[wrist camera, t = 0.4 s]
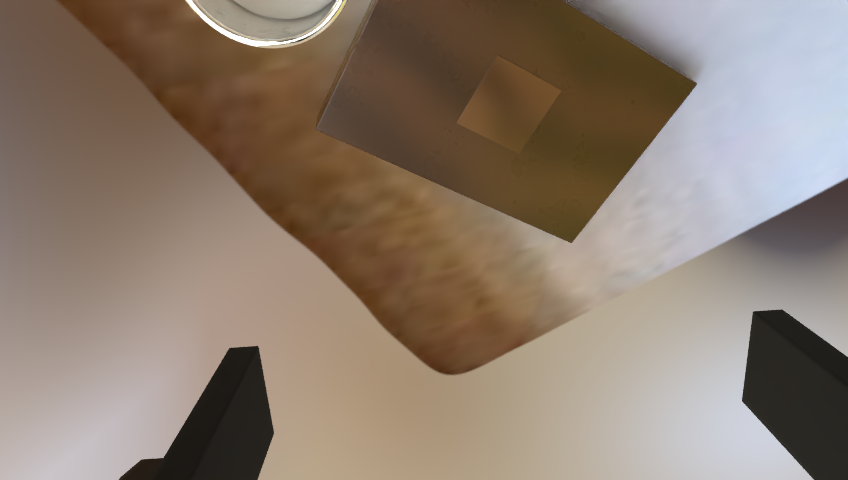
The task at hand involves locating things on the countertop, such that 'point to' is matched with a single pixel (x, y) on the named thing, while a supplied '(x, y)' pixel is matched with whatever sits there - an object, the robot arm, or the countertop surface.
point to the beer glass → (268, 19)
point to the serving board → (503, 102)
